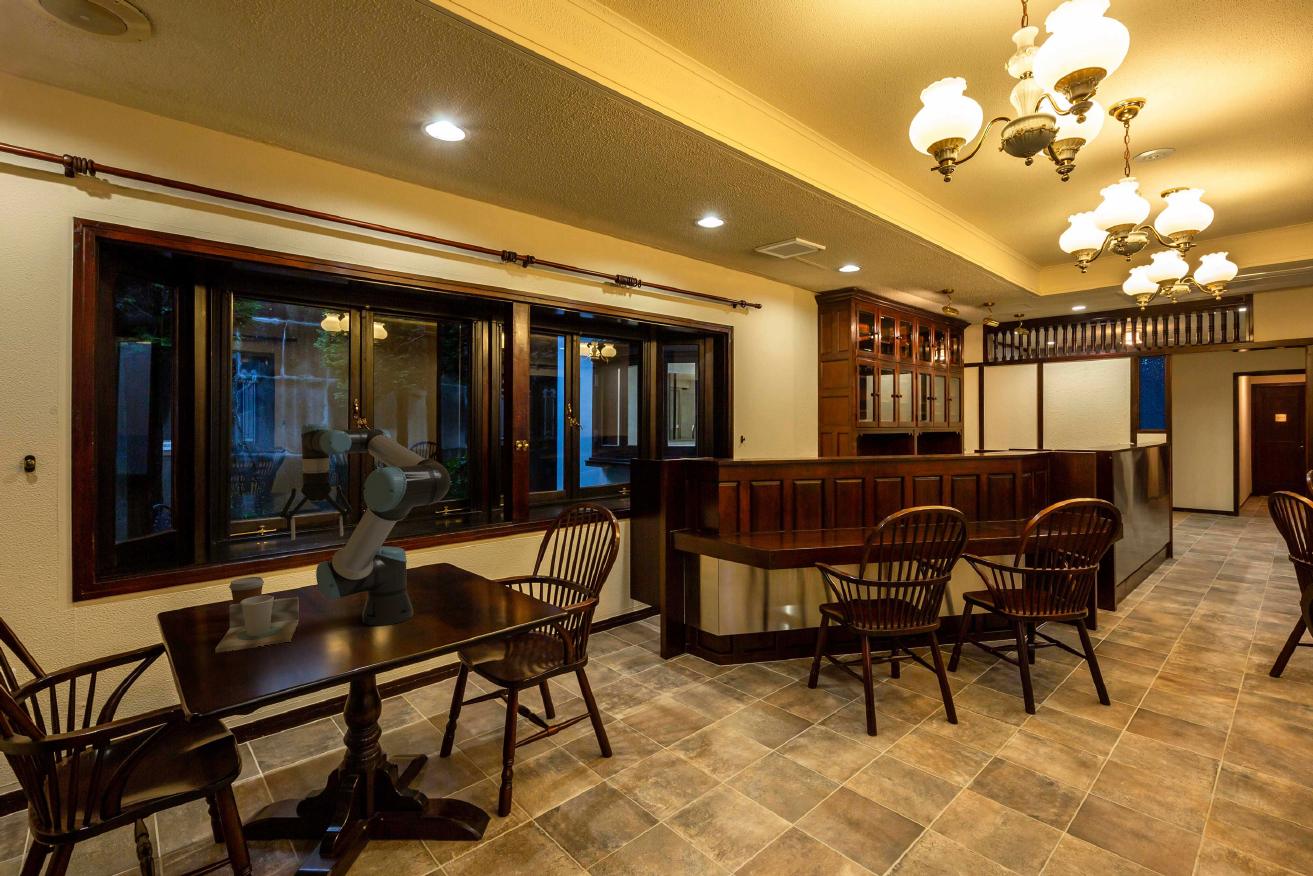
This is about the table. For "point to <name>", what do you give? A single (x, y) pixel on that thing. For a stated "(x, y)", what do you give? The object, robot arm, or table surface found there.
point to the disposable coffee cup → (246, 588)
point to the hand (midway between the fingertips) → (317, 537)
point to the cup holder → (280, 631)
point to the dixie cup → (257, 614)
